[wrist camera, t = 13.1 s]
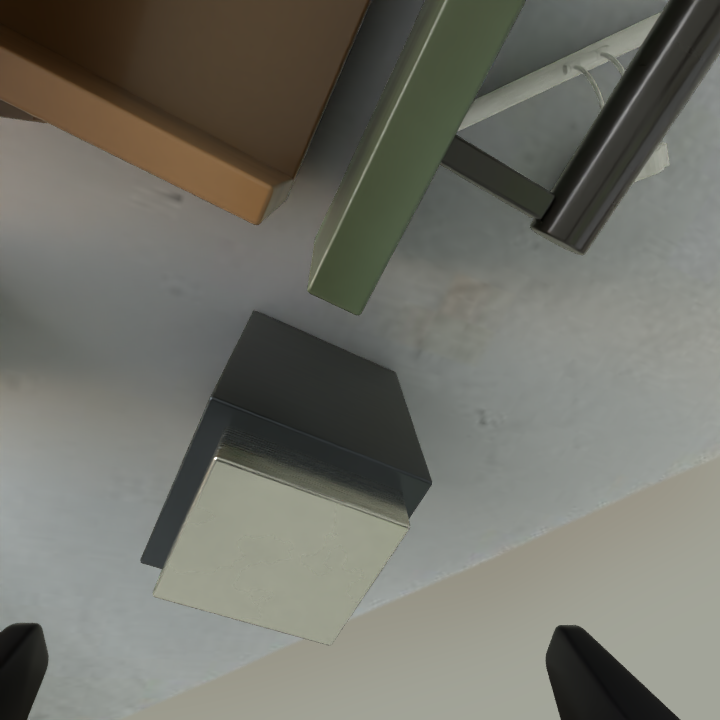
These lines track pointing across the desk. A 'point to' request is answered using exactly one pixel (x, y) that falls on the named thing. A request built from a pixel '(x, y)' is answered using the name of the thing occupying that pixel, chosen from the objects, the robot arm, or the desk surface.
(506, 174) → the drawer
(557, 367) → the desk surface
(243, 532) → the card box
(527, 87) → the picture light
